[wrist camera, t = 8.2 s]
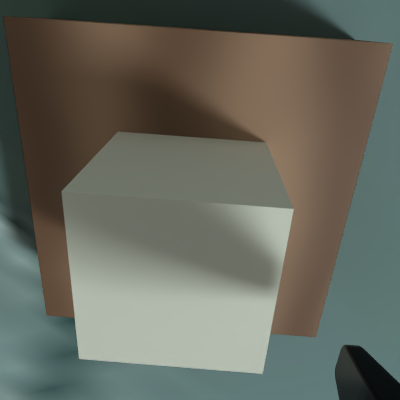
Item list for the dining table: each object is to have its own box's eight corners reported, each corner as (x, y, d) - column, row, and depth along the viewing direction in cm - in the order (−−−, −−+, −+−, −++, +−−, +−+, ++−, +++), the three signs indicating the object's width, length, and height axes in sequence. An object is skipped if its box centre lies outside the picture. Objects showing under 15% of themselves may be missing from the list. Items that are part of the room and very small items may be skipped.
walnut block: (355, 39, 17) (392, 43, 13) (300, 287, 23) (315, 337, 19) (48, 17, 17) (3, 16, 13) (73, 269, 23) (46, 315, 19)
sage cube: (266, 142, 15) (293, 208, 10) (248, 265, 18) (262, 373, 12) (118, 131, 15) (61, 191, 10) (122, 256, 18) (79, 359, 12)
